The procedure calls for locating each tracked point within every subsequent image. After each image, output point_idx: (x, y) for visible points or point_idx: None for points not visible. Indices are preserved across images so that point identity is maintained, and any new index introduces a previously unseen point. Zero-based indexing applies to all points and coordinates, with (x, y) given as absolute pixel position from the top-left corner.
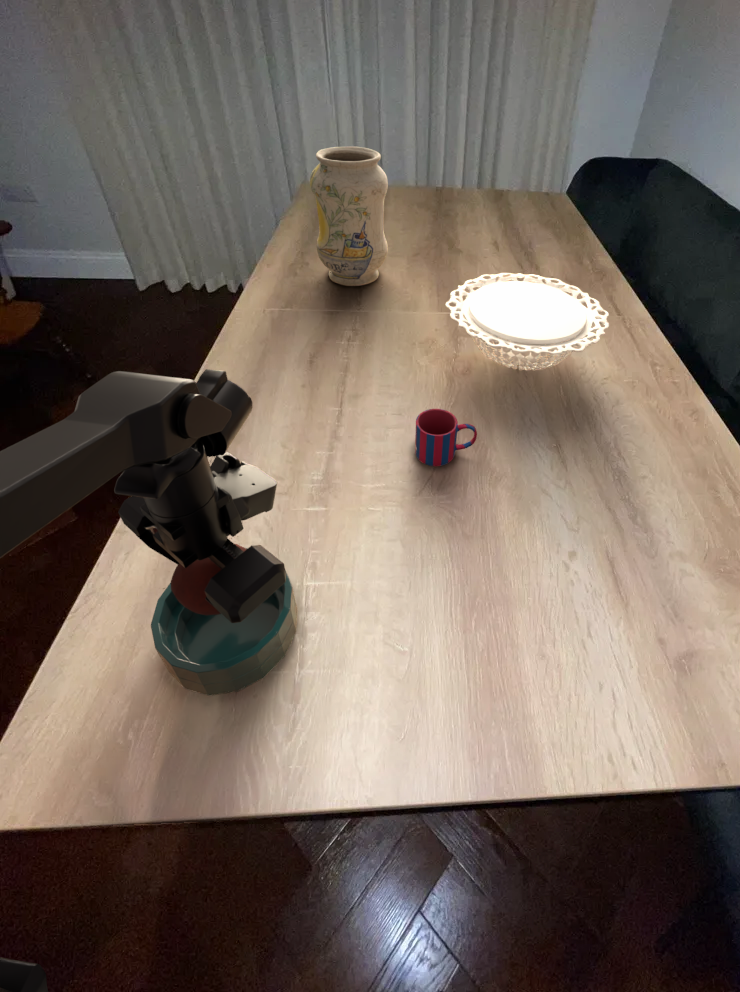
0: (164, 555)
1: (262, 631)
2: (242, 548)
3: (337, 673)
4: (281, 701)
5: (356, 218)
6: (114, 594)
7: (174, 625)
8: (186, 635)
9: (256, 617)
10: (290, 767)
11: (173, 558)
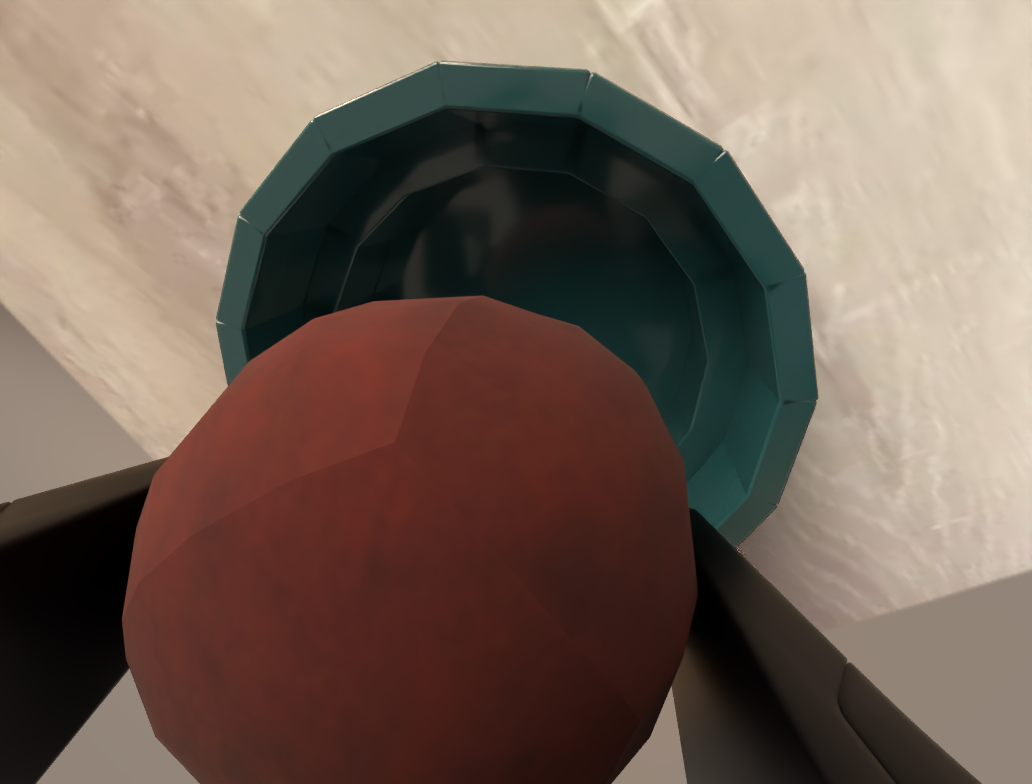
0: (36, 775)
1: (616, 302)
2: (420, 434)
3: (973, 269)
4: (812, 424)
5: None
6: (176, 421)
7: None
8: None
9: (559, 274)
10: (935, 528)
11: (111, 671)
